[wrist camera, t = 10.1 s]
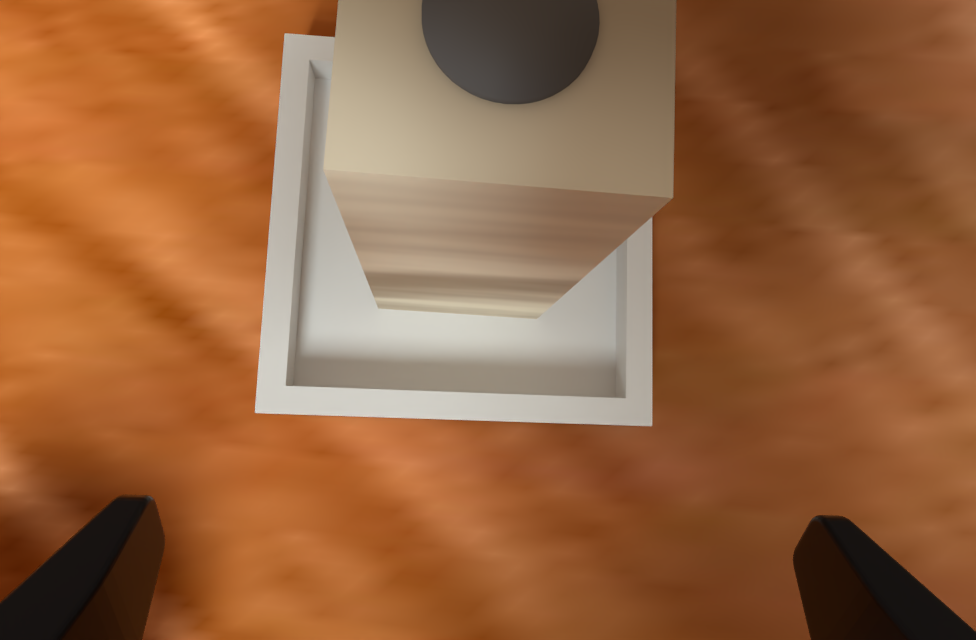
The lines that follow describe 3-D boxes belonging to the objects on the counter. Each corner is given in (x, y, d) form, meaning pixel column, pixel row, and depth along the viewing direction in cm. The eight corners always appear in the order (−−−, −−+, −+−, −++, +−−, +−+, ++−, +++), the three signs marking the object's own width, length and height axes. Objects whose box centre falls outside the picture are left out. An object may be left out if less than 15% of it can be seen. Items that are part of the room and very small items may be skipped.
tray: (632, 425, 23) (652, 426, 21) (269, 413, 22) (254, 413, 20) (634, 90, 25) (652, 62, 23) (296, 65, 24) (284, 33, 22)
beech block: (536, 319, 23) (676, 194, 10) (378, 308, 22) (321, 165, 10) (543, 168, 23) (681, -120, 11) (389, 155, 23) (351, -160, 10)
